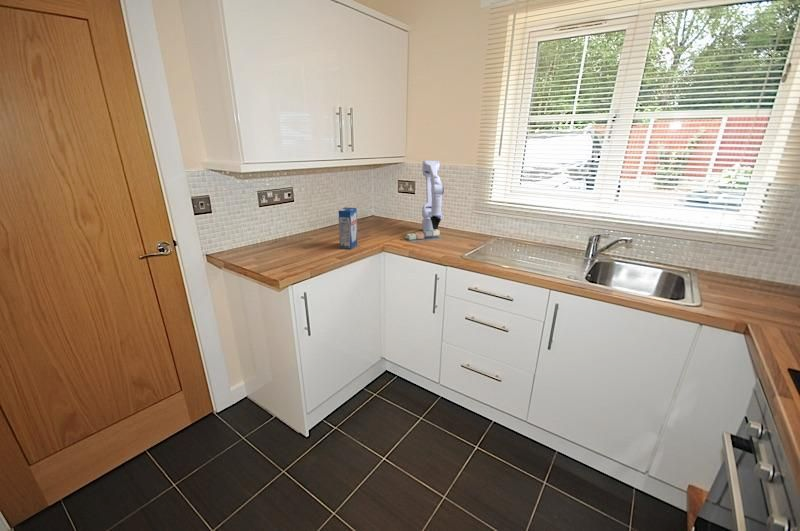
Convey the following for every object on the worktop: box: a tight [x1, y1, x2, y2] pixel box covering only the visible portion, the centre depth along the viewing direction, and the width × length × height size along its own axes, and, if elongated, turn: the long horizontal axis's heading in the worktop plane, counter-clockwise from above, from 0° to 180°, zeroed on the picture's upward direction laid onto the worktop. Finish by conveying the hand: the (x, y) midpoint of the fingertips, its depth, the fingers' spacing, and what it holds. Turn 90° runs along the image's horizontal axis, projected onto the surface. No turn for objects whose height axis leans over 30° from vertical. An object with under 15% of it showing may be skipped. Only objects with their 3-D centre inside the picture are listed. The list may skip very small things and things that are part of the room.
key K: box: [422, 230, 432, 236], centre depth 198 cm, size 4×4×2 cm
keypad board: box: [403, 235, 444, 243], centre depth 198 cm, size 12×20×1 cm, turn 113°
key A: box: [430, 228, 441, 236], centre depth 200 cm, size 4×4×2 cm
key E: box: [406, 233, 416, 241], centre depth 195 cm, size 4×4×2 cm
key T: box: [414, 232, 424, 239], centre depth 197 cm, size 4×4×2 cm
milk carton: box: [338, 207, 358, 250], centre depth 180 cm, size 10×6×20 cm, turn 168°
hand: (435, 229), depth 199 cm, fingers closed
